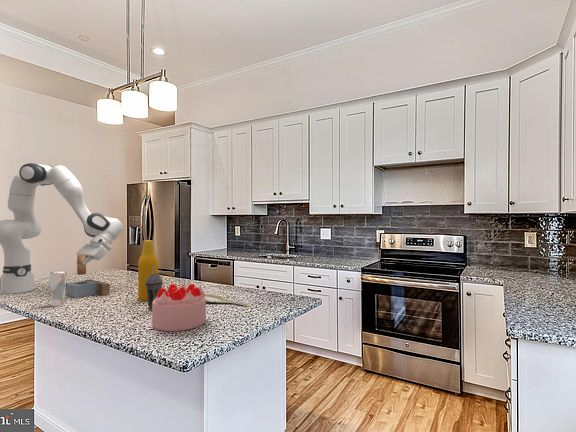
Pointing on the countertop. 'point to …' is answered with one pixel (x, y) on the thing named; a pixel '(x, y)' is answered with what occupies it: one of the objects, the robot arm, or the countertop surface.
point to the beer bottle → (146, 268)
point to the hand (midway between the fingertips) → (80, 263)
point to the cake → (179, 308)
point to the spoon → (222, 300)
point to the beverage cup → (153, 287)
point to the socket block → (81, 289)
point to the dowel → (80, 267)
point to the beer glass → (58, 287)
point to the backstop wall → (101, 287)
